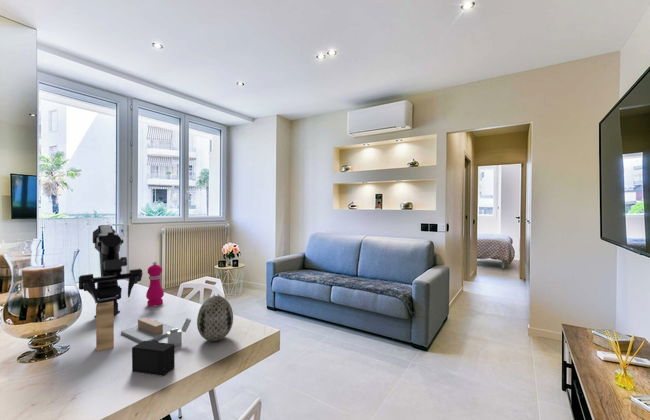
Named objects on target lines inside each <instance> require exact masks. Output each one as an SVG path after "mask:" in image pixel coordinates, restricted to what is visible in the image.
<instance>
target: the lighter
mask: <svg viewBox="0 0 650 420" xmlns="http://www.w3.org/2000/svg"><path fill="white" fill-rule="evenodd" d="M191 322H192V319H191V318H189V317H186V319H185V321H184V323H183V325H182V327H181V329H179V328H178V327H175V328H174V329H171V330H170V332H167V336H166V337H167V343H169V344H174V347H176V346H179V345H182V343H183V342H182V336H183V335H182V332H184V333H186V332H187V330H188V328H189V326H190V324H191ZM178 329H179V330H178Z"/></svg>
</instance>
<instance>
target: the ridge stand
mask: <svg viewBox="0 0 650 420" xmlns="http://www.w3.org/2000/svg"><path fill="white" fill-rule="evenodd" d="M174 328H176V327H175V326H171V325H170V324H167V323H164V322H161V321H158V320H156V319H150V318H147V317H141V318H139V319H137V325H136V326H132V327H129V328H127V329H123V330H121V331H120V334H121V335H122V336H125V337H127V338H129V339H131V340H134V341H136V342H138V343H141V342H143V341H152V340H157V341H158V340H160V339H163V338H166V337H168V336H167V332H170V330H171V329H174ZM178 330H180V329H179V328H178Z"/></svg>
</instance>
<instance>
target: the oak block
mask: <svg viewBox="0 0 650 420" xmlns="http://www.w3.org/2000/svg"><path fill="white" fill-rule="evenodd" d="M95 315H96V317H95V331H96V332H95V336H96V337H95V338H96V340H95V342H96V344H95V345H96V347H95V350H96V351H95V352H102V351H106V350H111V349H114V348H115V338H114V337H115V332H114V330H115V329H114V327H115V326H114V323H115V318H114V316H115V315H114V303H113V301H112V302H106V303H99V304H97V303H96V306H95Z"/></svg>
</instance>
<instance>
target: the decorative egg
mask: <svg viewBox="0 0 650 420" xmlns="http://www.w3.org/2000/svg"><path fill="white" fill-rule="evenodd" d="M233 324H234V313H233V308H232V306H231V304H230V303H229V301H228V299H226V298H224V297H223V296H222V295H221V296H220V295H214V296H210V297H209V298H207V299H206V300H205V301H204V302H203V303H202V305H201V306H200V308H199V310H198V314H197V319H196V326H197V330H198V331H197V332H198V333H199V334H200V336H201V337H202V338H203V339H204V340H206V341H208V342H217V341H220V340H223V339H224V338H225V337H226V336H228V334H230V332H231V329H232V328H233Z"/></svg>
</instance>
